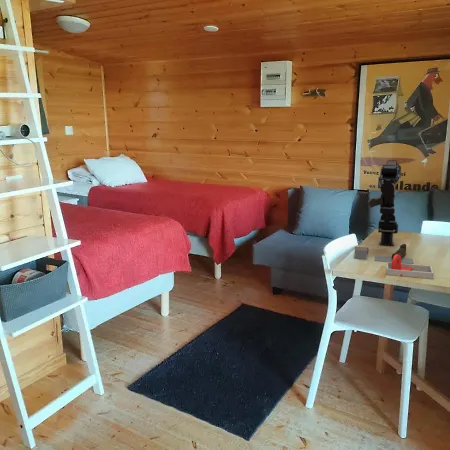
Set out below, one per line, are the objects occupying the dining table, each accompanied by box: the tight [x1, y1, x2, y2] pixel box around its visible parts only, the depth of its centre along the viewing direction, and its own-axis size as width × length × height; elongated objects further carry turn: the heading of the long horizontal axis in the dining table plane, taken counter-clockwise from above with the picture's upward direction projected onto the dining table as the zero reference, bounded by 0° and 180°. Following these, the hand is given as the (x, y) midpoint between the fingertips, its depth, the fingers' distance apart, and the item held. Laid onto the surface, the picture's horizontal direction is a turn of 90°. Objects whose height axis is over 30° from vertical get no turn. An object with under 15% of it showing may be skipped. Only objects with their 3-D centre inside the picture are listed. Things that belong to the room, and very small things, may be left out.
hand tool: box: [391, 243, 407, 260], centre depth 200 cm, size 19×4×5 cm, turn 145°
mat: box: [374, 255, 415, 265], centre depth 197 cm, size 8×16×1 cm, turn 70°
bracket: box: [390, 254, 414, 277], centre depth 180 cm, size 12×4×8 cm, turn 137°
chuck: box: [354, 246, 368, 260], centre depth 201 cm, size 5×5×4 cm
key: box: [354, 246, 369, 256], centre depth 203 cm, size 7×6×3 cm
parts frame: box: [385, 262, 434, 280], centre depth 179 cm, size 10×17×2 cm, turn 70°
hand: (386, 225), depth 207 cm, fingers closed
